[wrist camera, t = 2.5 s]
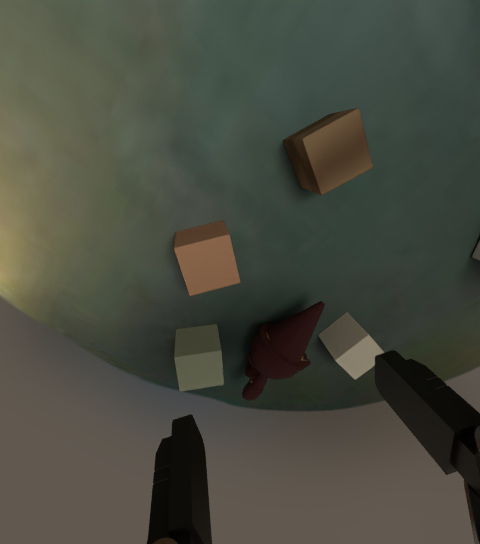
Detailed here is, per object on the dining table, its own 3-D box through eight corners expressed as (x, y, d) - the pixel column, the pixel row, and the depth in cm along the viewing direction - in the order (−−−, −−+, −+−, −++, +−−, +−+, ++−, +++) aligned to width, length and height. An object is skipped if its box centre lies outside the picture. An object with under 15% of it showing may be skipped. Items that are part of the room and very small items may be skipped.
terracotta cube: (176, 231, 28) (173, 248, 24) (222, 220, 29) (229, 234, 24) (189, 273, 31) (189, 296, 26) (232, 262, 31) (240, 282, 27)
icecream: (300, 298, 27) (217, 391, 32) (358, 338, 28) (268, 422, 33) (294, 272, 33) (225, 353, 38) (341, 306, 34) (268, 380, 39)
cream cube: (317, 334, 38) (335, 360, 33) (346, 311, 37) (368, 334, 32) (336, 353, 40) (355, 379, 35) (364, 331, 39) (387, 356, 34)
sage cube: (175, 328, 33) (174, 357, 29) (217, 323, 34) (221, 350, 30) (180, 360, 36) (179, 391, 31) (219, 355, 36) (223, 384, 32)
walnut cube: (283, 139, 27) (302, 138, 22) (329, 114, 26) (358, 107, 22) (300, 187, 29) (321, 195, 24) (343, 164, 29) (372, 167, 24)
